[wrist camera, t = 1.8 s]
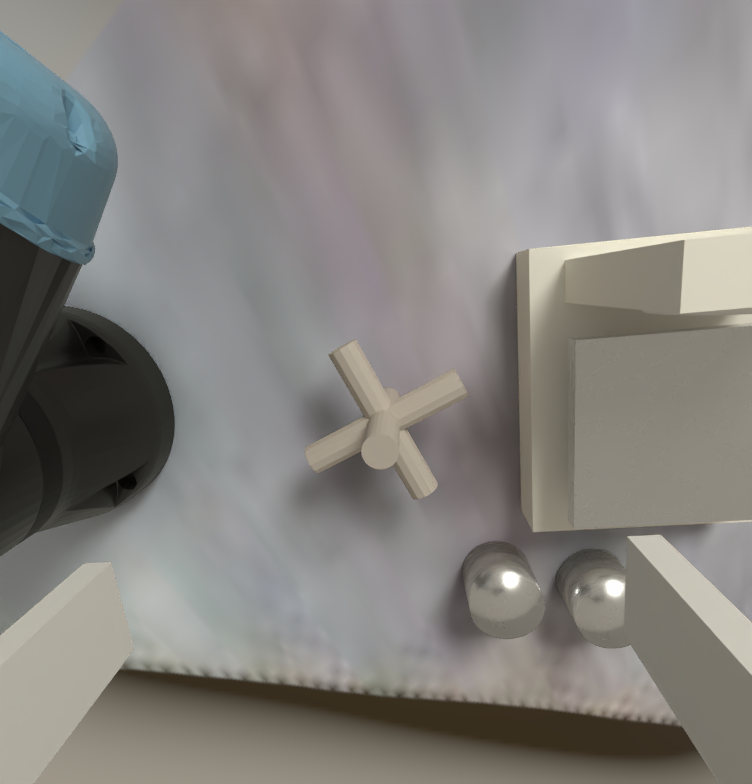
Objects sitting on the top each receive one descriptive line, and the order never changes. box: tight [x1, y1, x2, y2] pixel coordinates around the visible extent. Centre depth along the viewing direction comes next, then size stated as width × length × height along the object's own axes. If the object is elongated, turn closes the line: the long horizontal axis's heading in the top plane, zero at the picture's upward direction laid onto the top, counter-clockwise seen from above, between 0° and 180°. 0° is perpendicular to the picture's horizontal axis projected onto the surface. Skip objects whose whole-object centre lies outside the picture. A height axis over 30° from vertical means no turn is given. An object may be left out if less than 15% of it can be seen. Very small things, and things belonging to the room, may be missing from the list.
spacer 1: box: [462, 542, 545, 639], centre depth 31 cm, size 5×5×4 cm
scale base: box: [516, 227, 752, 532], centre depth 23 cm, size 14×18×14 cm
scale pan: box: [568, 323, 752, 529], centre depth 24 cm, size 11×11×1 cm
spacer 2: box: [556, 549, 631, 648], centre depth 31 cm, size 5×5×4 cm
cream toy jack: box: [305, 339, 469, 499], centre depth 26 cm, size 10×10×10 cm
